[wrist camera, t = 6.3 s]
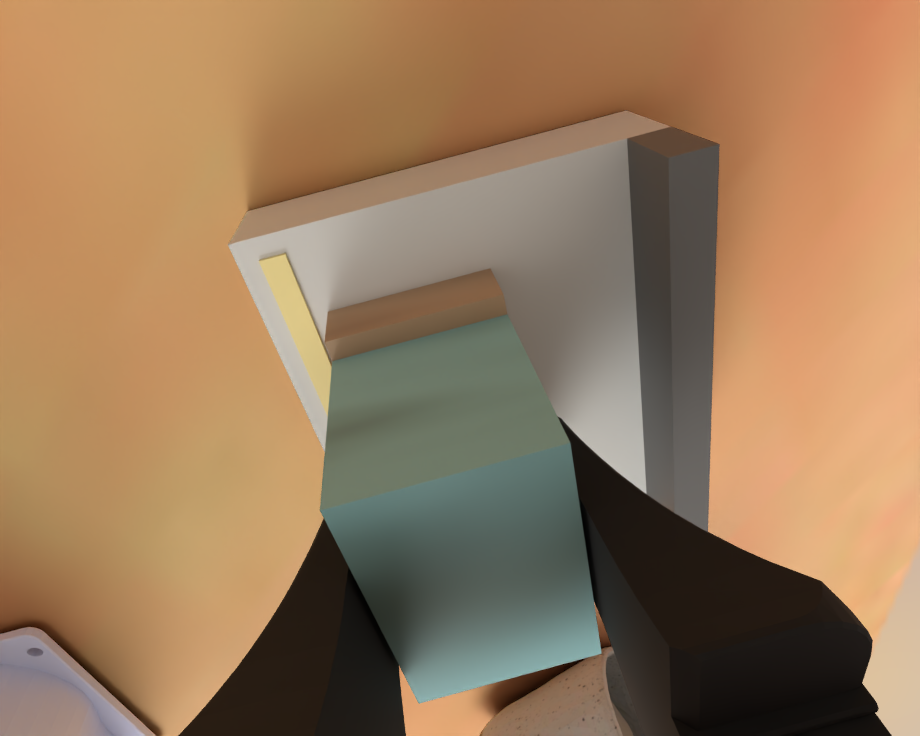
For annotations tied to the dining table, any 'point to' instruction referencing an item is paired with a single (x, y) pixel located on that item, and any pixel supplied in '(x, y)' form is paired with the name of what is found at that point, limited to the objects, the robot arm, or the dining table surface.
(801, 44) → the dining table surface
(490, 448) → the teal rectangular block
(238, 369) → the dining table surface
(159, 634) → the dining table surface
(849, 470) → the dining table surface
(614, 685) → the ceramic mug
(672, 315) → the dock
